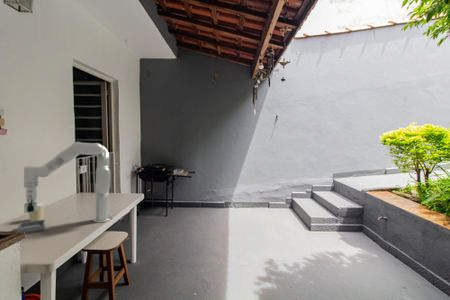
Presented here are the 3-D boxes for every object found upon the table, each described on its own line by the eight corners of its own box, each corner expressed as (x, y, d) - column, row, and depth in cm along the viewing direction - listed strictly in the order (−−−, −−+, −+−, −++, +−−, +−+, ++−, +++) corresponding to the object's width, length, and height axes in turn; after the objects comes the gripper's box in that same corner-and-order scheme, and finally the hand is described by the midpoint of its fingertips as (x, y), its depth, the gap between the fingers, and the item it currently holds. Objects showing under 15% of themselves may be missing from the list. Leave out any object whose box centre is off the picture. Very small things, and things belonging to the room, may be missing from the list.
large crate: (45, 224, 172) (45, 219, 172) (44, 230, 161) (44, 225, 161) (20, 227, 164) (20, 223, 164) (16, 234, 153) (16, 229, 153)
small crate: (37, 209, 166) (37, 202, 166) (36, 211, 161) (36, 204, 161) (25, 210, 163) (25, 203, 163) (24, 212, 157) (24, 205, 157)
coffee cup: (31, 218, 183) (31, 203, 183) (46, 217, 187) (45, 202, 186) (26, 222, 174) (26, 206, 174) (41, 221, 178) (41, 205, 177)
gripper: (36, 186, 156) (36, 212, 157) (39, 181, 170) (39, 206, 171) (22, 187, 152) (22, 214, 153) (25, 182, 166) (25, 207, 167)
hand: (31, 209), depth 162 cm, fingers closed on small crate, 6 cm apart
